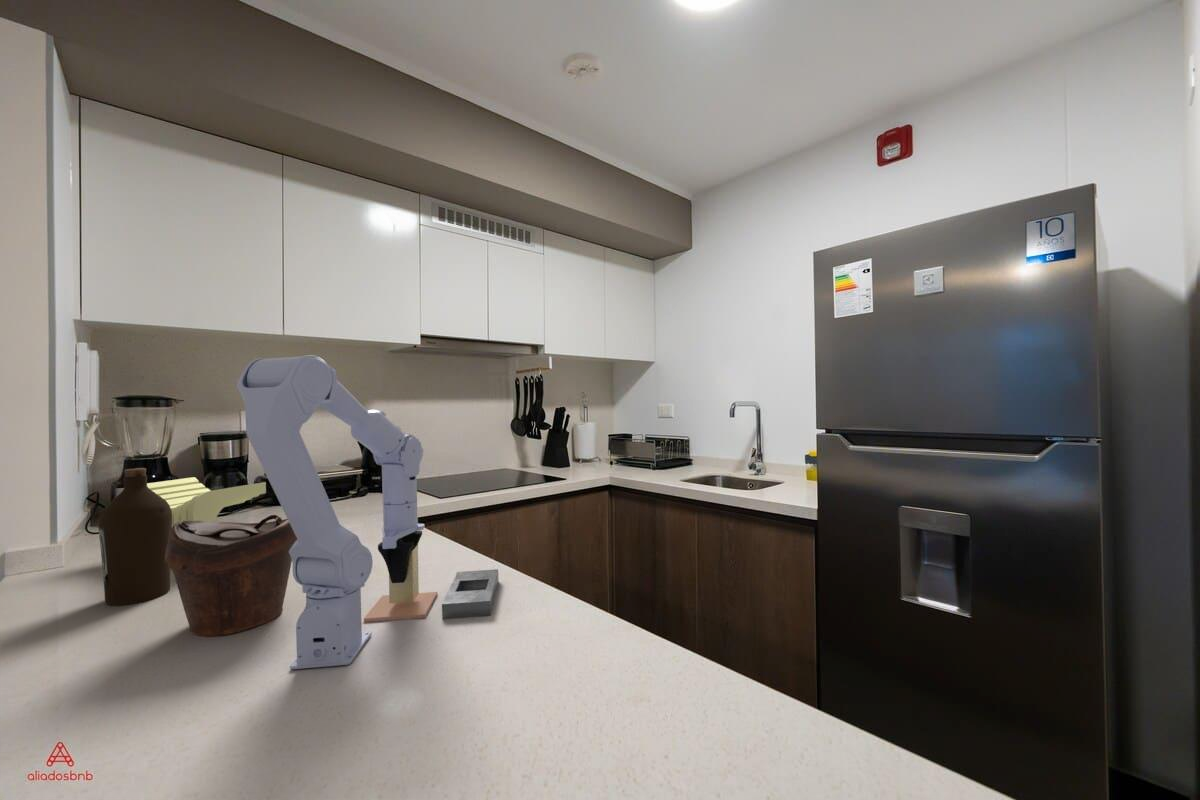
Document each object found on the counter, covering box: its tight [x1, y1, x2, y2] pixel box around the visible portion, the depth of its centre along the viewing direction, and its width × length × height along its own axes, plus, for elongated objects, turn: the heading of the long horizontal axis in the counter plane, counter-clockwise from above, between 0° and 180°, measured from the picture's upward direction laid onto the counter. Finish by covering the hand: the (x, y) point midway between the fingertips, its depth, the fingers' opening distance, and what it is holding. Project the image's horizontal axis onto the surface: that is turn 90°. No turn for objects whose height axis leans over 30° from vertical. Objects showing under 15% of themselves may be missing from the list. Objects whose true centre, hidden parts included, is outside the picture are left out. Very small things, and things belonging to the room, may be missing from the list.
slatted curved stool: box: [147, 476, 267, 527], centre depth 124 cm, size 30×16×18 cm, turn 66°
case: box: [165, 514, 297, 637], centre depth 87 cm, size 18×20×18 cm
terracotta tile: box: [363, 591, 438, 623], centre depth 90 cm, size 10×10×1 cm
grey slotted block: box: [441, 569, 500, 620], centre depth 93 cm, size 16×8×2 cm, turn 7°
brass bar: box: [388, 543, 420, 604], centre depth 90 cm, size 4×4×9 cm
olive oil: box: [97, 467, 172, 606], centre depth 98 cm, size 11×11×25 cm
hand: (402, 577), depth 90 cm, fingers open, 4 cm apart
